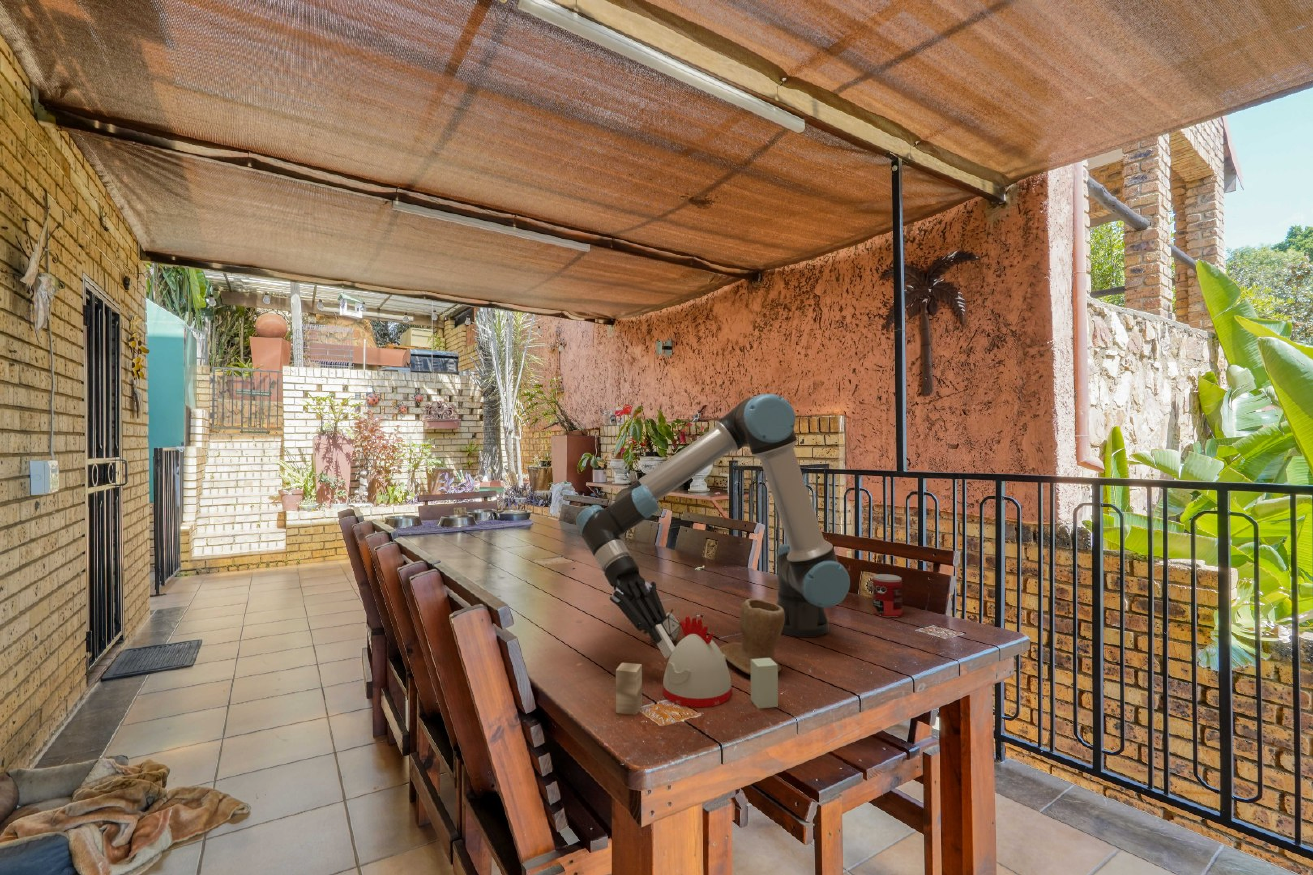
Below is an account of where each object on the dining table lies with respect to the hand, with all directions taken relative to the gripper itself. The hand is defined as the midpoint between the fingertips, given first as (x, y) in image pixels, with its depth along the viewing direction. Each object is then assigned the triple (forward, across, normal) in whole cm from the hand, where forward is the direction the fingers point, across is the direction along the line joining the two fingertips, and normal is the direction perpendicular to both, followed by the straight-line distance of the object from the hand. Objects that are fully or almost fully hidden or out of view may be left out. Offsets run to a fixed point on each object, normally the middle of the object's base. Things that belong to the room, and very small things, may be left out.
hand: (670, 654), depth 127 cm
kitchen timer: (+10, 0, +1) cm, 10 cm away
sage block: (+18, -5, +10) cm, 21 cm away
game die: (-8, -18, -17) cm, 26 cm away
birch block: (+6, +15, -2) cm, 16 cm away
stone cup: (+10, -20, +1) cm, 22 cm away
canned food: (+13, -80, +5) cm, 81 cm away
